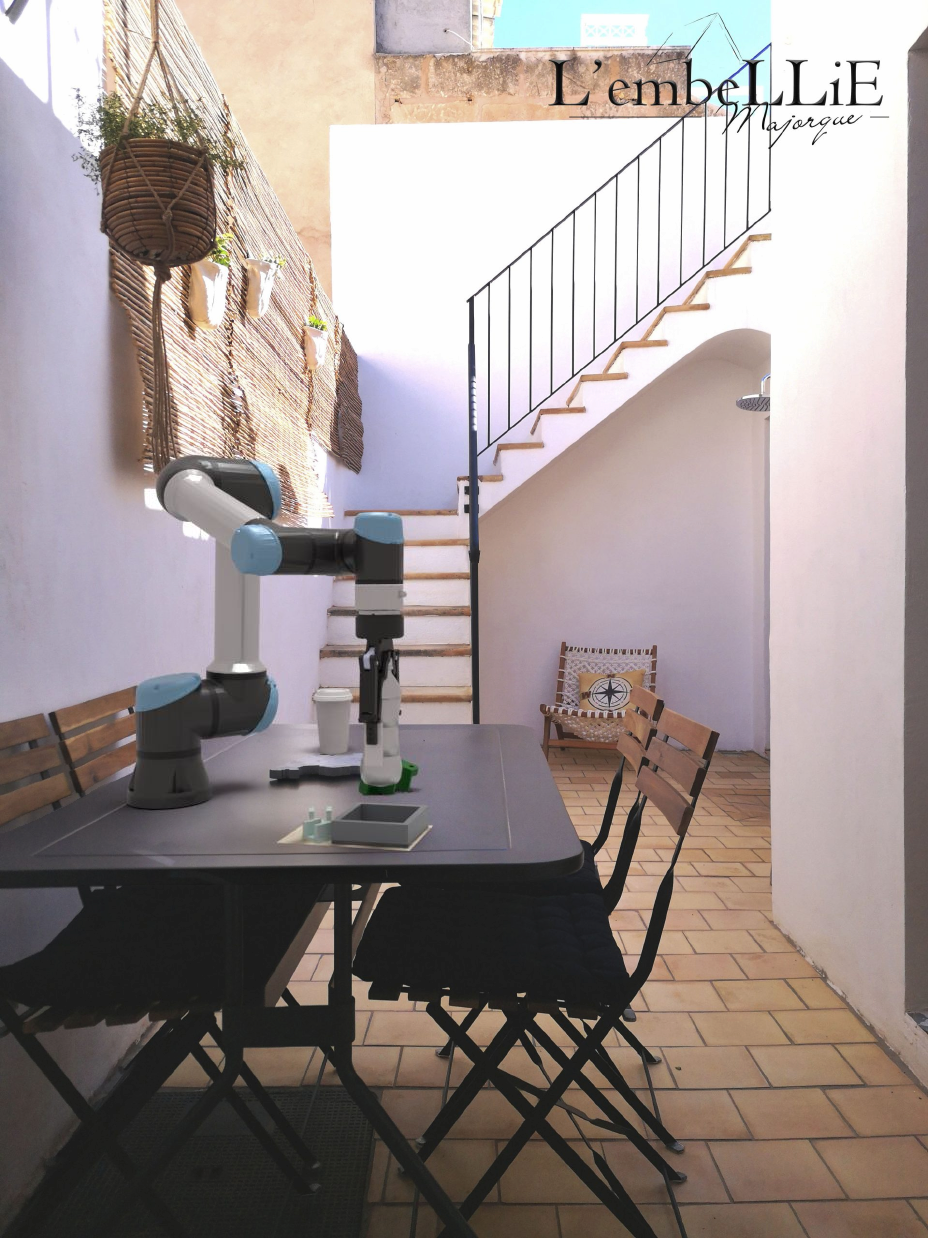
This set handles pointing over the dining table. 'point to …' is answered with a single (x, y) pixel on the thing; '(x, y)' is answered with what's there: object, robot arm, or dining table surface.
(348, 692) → the coffee cup
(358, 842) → the holder
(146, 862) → the dining table surface
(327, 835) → the clip
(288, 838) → the board
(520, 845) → the dining table surface
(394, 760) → the plastic bottle
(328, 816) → the clip
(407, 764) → the clamp
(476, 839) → the dining table surface
